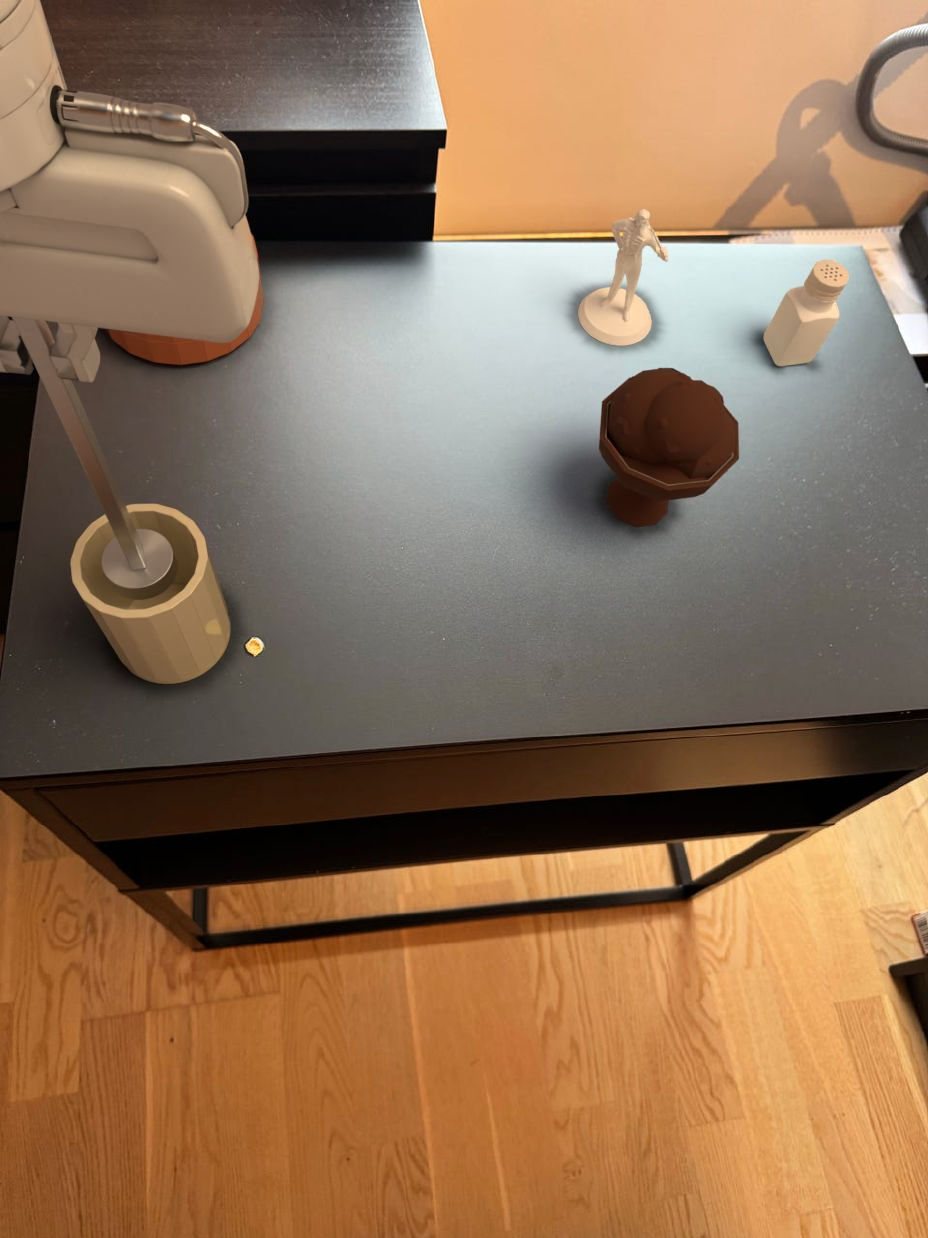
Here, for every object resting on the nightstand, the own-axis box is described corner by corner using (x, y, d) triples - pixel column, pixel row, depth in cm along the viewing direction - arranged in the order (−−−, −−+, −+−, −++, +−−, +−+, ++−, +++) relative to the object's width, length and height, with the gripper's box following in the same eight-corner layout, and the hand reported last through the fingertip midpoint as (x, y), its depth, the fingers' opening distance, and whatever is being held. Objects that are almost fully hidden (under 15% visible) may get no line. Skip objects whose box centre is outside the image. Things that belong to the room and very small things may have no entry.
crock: (121, 695, 65) (76, 630, 55) (109, 593, 69) (65, 514, 59) (239, 671, 67) (216, 603, 57) (221, 573, 70) (197, 492, 60)
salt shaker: (759, 337, 86) (801, 258, 78) (796, 332, 87) (842, 253, 79) (774, 369, 85) (819, 292, 76) (813, 364, 86) (861, 287, 77)
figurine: (562, 315, 85) (589, 207, 75) (608, 278, 88) (641, 168, 77) (621, 358, 84) (658, 254, 73) (666, 318, 86) (708, 212, 76)
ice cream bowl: (724, 499, 78) (797, 381, 64) (646, 579, 73) (707, 470, 60) (629, 426, 80) (680, 298, 67) (548, 499, 76) (585, 378, 63)
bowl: (110, 380, 77) (91, 329, 72) (94, 261, 83) (75, 205, 78) (276, 356, 80) (269, 306, 75) (250, 243, 86) (242, 188, 81)
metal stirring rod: (111, 606, 58) (-37, 338, 37) (103, 548, 59) (-42, 261, 38) (182, 592, 58) (77, 323, 37) (172, 535, 60) (67, 248, 39)
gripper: (254, 58, 32) (286, 343, 44) (-356, -27, 31) (-147, 289, 43) (218, 179, 29) (263, 447, 41) (-456, 90, 28) (-202, 392, 40)
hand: (50, 366), depth 42 cm, fingers closed on metal stirring rod
